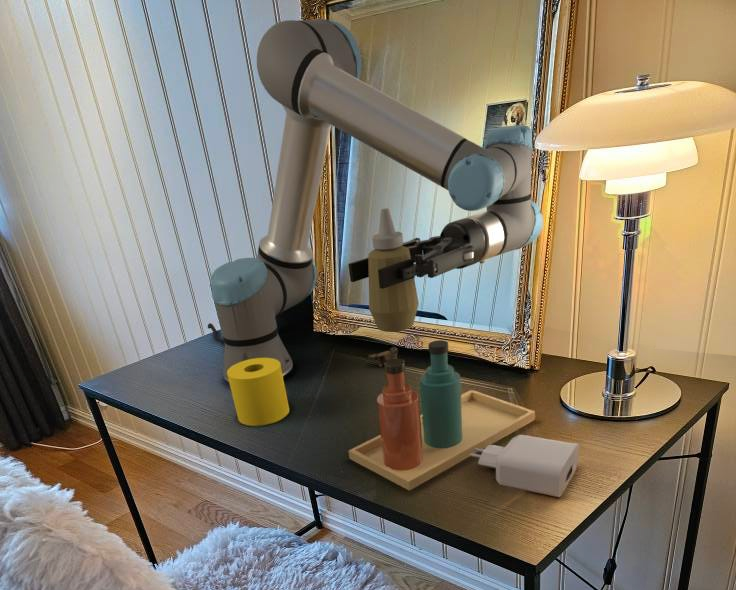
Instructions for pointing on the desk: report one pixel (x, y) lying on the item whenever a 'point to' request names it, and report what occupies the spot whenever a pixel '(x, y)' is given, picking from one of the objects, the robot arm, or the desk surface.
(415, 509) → the desk surface
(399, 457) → the terracotta bottle
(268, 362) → the yellow toilet paper roll
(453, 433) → the teal bottle
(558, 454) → the charger
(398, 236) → the squeeze bottle
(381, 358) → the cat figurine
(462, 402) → the tray
